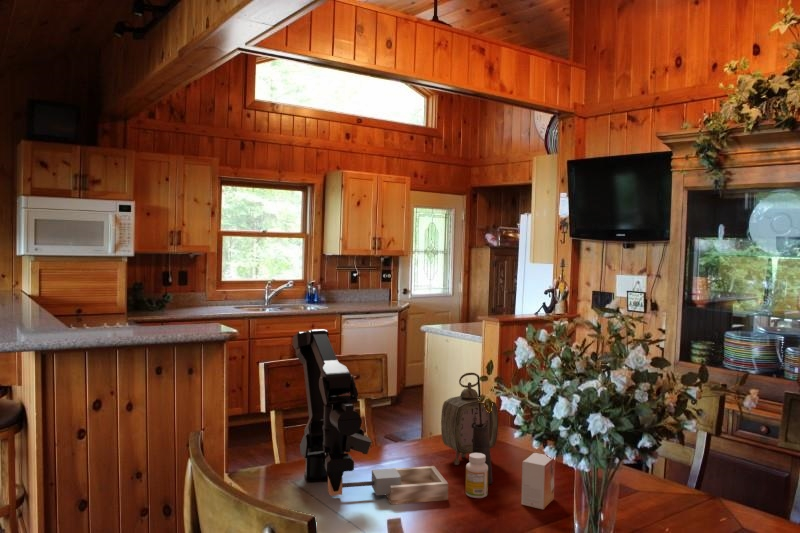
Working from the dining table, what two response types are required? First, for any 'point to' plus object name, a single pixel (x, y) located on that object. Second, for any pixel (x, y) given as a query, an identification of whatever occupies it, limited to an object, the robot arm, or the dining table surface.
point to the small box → (537, 481)
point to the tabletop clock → (466, 420)
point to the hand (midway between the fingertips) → (334, 487)
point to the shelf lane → (419, 486)
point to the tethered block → (373, 482)
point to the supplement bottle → (477, 476)
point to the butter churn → (482, 439)
